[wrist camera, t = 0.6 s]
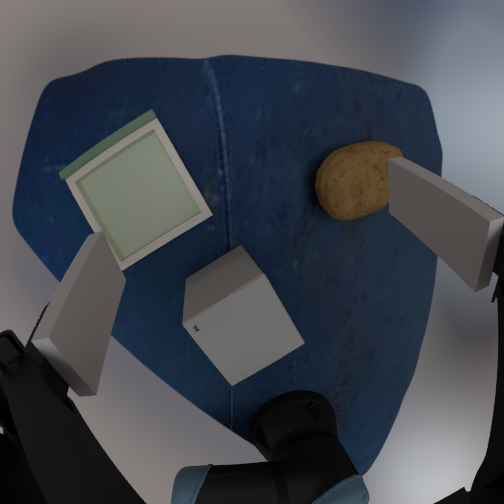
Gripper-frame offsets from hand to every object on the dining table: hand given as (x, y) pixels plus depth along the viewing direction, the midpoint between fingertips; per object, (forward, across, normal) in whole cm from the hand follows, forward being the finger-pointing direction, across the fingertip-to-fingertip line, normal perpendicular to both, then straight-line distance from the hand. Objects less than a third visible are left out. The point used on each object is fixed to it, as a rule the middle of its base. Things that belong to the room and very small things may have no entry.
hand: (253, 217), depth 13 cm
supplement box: (+23, +4, +20) cm, 31 cm away
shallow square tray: (+27, +12, +5) cm, 30 cm away
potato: (+28, -16, +11) cm, 34 cm away
